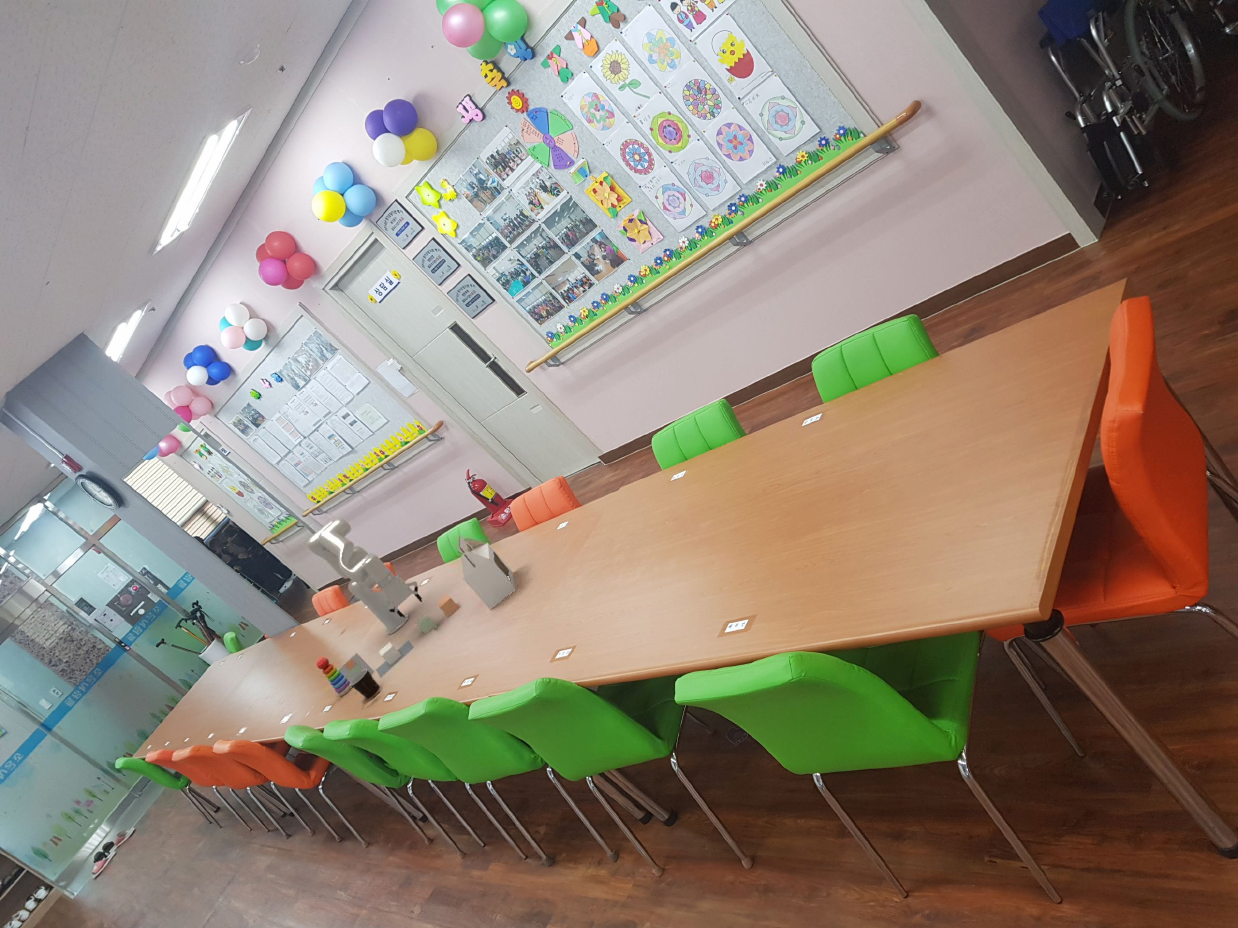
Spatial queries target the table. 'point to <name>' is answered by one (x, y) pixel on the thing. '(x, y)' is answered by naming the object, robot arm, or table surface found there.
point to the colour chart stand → (354, 667)
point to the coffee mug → (365, 684)
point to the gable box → (485, 571)
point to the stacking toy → (334, 677)
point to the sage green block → (426, 624)
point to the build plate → (386, 667)
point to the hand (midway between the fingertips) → (412, 609)
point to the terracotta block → (447, 605)
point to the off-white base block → (390, 653)
